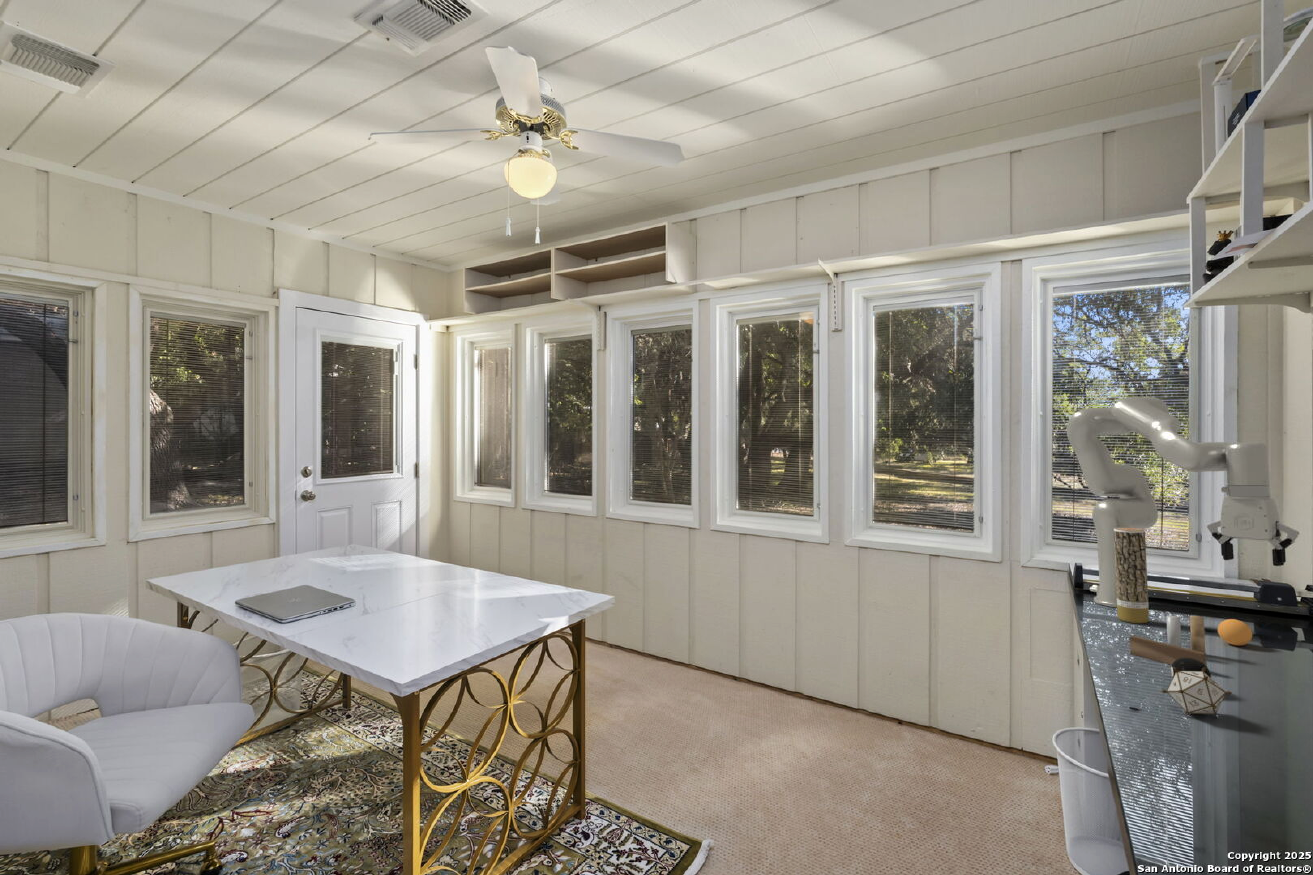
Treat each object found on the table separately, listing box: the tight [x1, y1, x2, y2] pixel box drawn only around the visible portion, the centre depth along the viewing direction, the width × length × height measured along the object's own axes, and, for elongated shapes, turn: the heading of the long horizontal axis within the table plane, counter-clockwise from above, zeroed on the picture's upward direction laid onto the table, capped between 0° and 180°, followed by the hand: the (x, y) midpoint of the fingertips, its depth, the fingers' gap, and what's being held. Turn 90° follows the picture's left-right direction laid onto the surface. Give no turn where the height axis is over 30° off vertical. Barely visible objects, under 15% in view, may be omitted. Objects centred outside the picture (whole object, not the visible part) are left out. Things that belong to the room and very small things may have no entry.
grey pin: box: [1166, 615, 1182, 647], centre depth 142 cm, size 2×2×8 cm
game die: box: [1160, 667, 1233, 716], centre depth 111 cm, size 9×8×10 cm
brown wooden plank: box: [1129, 635, 1208, 667], centre depth 136 cm, size 2×14×4 cm, turn 23°
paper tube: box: [1114, 528, 1150, 624], centre depth 168 cm, size 7×7×25 cm
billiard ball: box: [1170, 658, 1212, 679], centre depth 122 cm, size 6×6×6 cm
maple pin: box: [1189, 615, 1206, 653], centre depth 141 cm, size 2×2×8 cm
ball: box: [1217, 618, 1253, 646], centre depth 147 cm, size 6×6×6 cm
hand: (1252, 562), depth 151 cm, fingers open, 9 cm apart
